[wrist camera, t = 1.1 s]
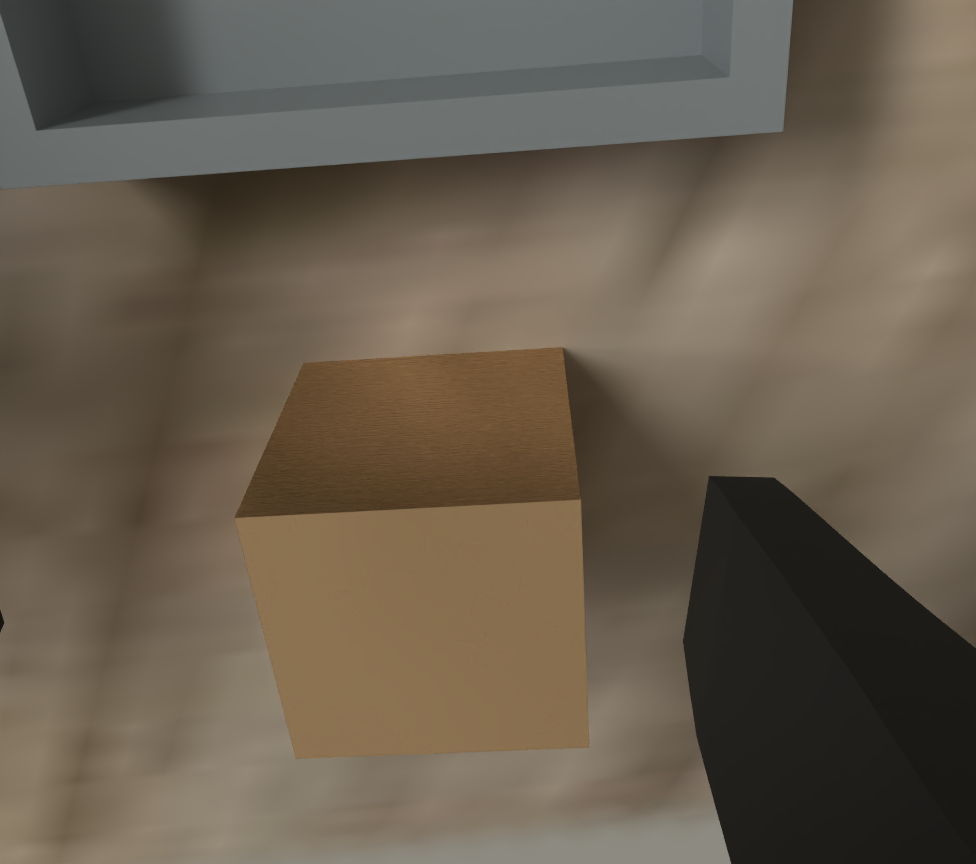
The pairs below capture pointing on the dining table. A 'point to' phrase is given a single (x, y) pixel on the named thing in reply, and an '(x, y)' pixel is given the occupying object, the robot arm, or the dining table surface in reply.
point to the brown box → (423, 556)
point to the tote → (370, 80)
